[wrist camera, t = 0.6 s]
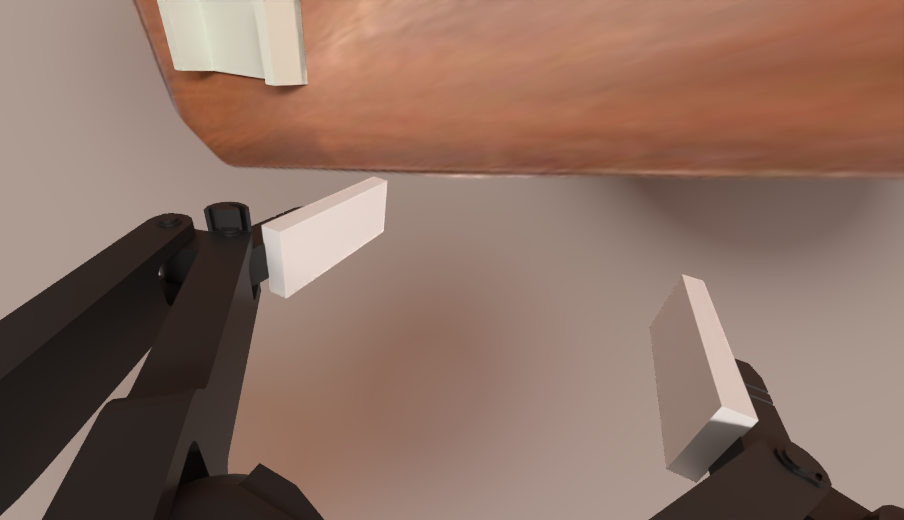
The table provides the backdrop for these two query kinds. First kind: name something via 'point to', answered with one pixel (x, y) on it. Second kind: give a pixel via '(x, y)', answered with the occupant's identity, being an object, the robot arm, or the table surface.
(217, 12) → the u rest
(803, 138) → the table surface
